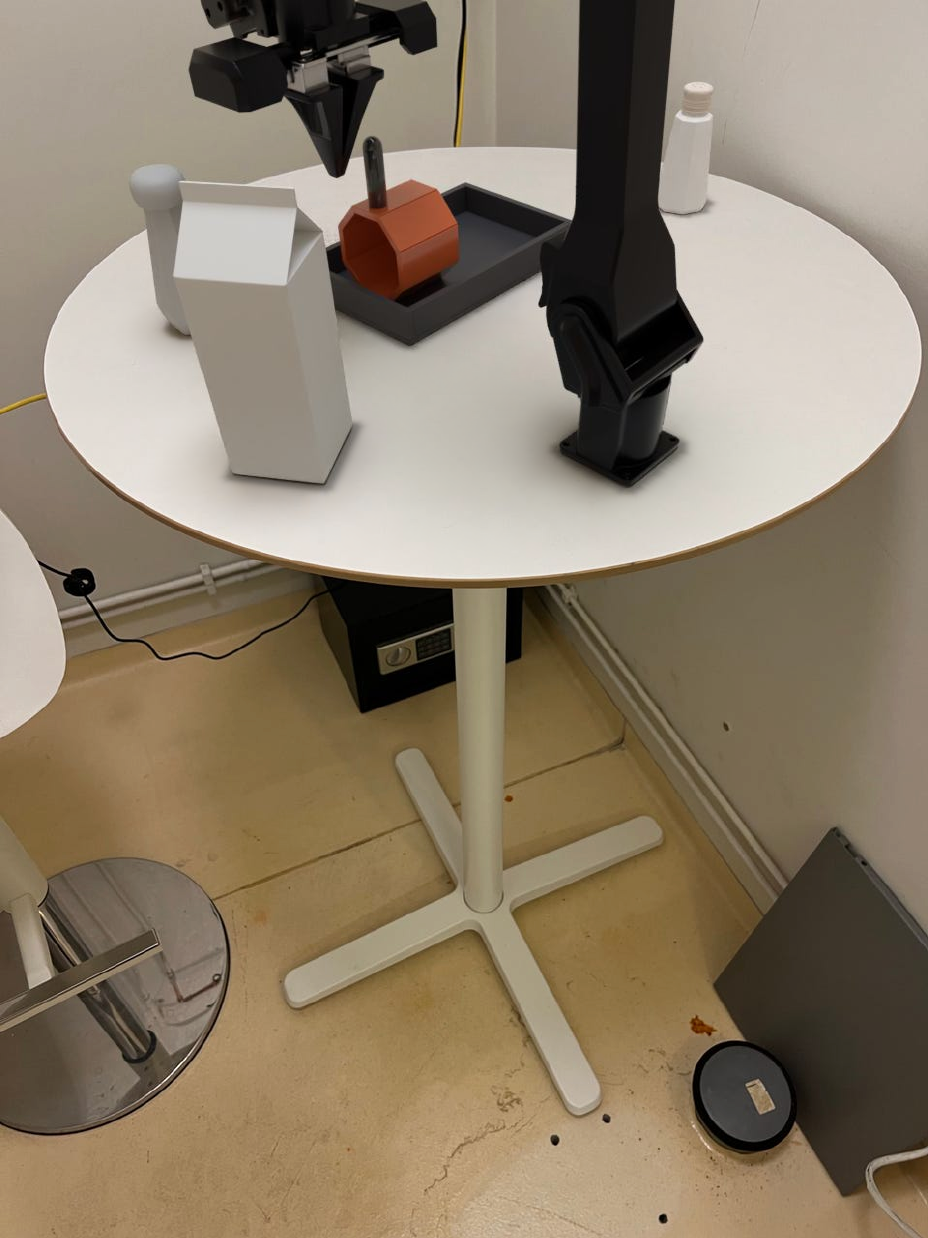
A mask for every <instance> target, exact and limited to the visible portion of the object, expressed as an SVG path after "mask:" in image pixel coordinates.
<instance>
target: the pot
mask: <svg viewBox="0 0 928 1238" xmlns="http://www.w3.org/2000/svg"><path fill="white" fill-rule="evenodd" d="M361 149H362V157H363V167H364V175H365V185H366V193H367V198H366V199H364V200H362V201H359V202H357V203H354V204H352V205H351V206H350V207H349V209H348V210H347V212H346V213H345V214H344V216H343V217H342V219H341V220H340V222H339V223H338V225H337V230H338V236H339V241H340V245H341V252H342V259H343V262H344V265H345V266H346V268H347V269H348V271H349V273H350V274H351V276H352V277H353V279H354V281H355V282H356V284H358V285H361V286H363V287H365V288H367V289H369V290H371V291H373V292H375V293H377V294H380V295H382V296H384V297H386V298H388V299H390V300H392V301H394V302H398V301H400V300H401V299H403V298H405V297H407V296H409V295H411V294H413V293H414V292H416V291H418V290H420V289H422V288H424V287H426V286H428V285H429V284H431V283H433V282H435V281H437V280H439V279H441V278H442V277H443V276H444V275H446V274H447V273H448V272H449V271H450V270H451V269H452V268H453V267H454V266H455V265H456V264H457V263H458V262H459V239H458V225H457V221H456V220H455V218H454V216H453V215H452V213H451V211H450V209H449V208H448V206H447V204H446V203H445V201H444V199H443V197H442V196H441V192H440V191H439V190H438V188H436V187H433V186H431V185H428V184H425V183H422V182H420V181H417V180H415V179H408V180H406V181H404V182H402V183H400V184H397V185H395V186H393V187H390V188H388V189H387V182H386V171H385V159H384V151H383V144H382V141H381V139H380V138H379V137H377V136H375V135H368V136H367V137H365V138H364V140H363V142H362V147H361Z"/></svg>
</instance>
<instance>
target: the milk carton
mask: <svg viewBox="0 0 928 1238" xmlns="http://www.w3.org/2000/svg"><path fill="white" fill-rule="evenodd" d="M178 184H179V188H180V191H181V195H182V199H183V202H182V203H183V205H182V213H181V220H180V228H179V235H178V243H177V250H176V258H175V265H174V273H173V277H174V279H175V283H176V286H177V289H178V293H179V296H180V299H181V303H182V306H183V309H184V313H185V316H186V320H187V323H188V326H189V330H190V333H191V335H190V336H191V340H192V342H193V346H194V349H195V352H196V356H197V359H198V363H199V366H200V370H201V373H202V377H203V379H204V380H203V381H204V383H205V386H206V391H207V393H208V396H209V400H210V403H211V407H212V411H213V413H214V417H215V421H216V424H217V426H218V430H219V433H220V437H221V440H222V443H223V447H224V450H225V454H226V457H227V461H228V463H229V467H230V470H231V472H232V473H233V474H236V475H242V476H243V475H244V476H252V477H260V478H270V479H278V480H288V481H296V482H305V483H314V484H325V482H326V481H327V479H328V476H329V475H330V472H331V471H332V468H333V466H334V464H335V462H336V460H337V458H338V456H339V453H340V451H341V450H342V447H343V446H344V443H345V442H346V440H347V436H349V433H350V431H351V429H352V426H353V419H352V411H351V405H350V398H349V393H348V386H347V377H346V373H345V367H344V360H343V353H342V346H341V341H340V335H339V334H340V333H339V326H338V320H337V314H336V308H335V307H334V300H333V294H332V287H331V281H330V274H329V268H328V261H327V255H326V243H325V237H324V231H323V229H321V227H320V226H319V225H317V223H316V222H315V221H313V220H312V219H311V217H309V216H308V215H307V214H306V213H305V212H304V211H303V210H302V209H301V208H300V207H299V206H298V202H297V197H296V190H295V187H293V186H280V185H263V184H244V183H226V182H212V181H211V182H209V181H192V180H190V181H189V180H185V181H179V182H178Z"/></svg>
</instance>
